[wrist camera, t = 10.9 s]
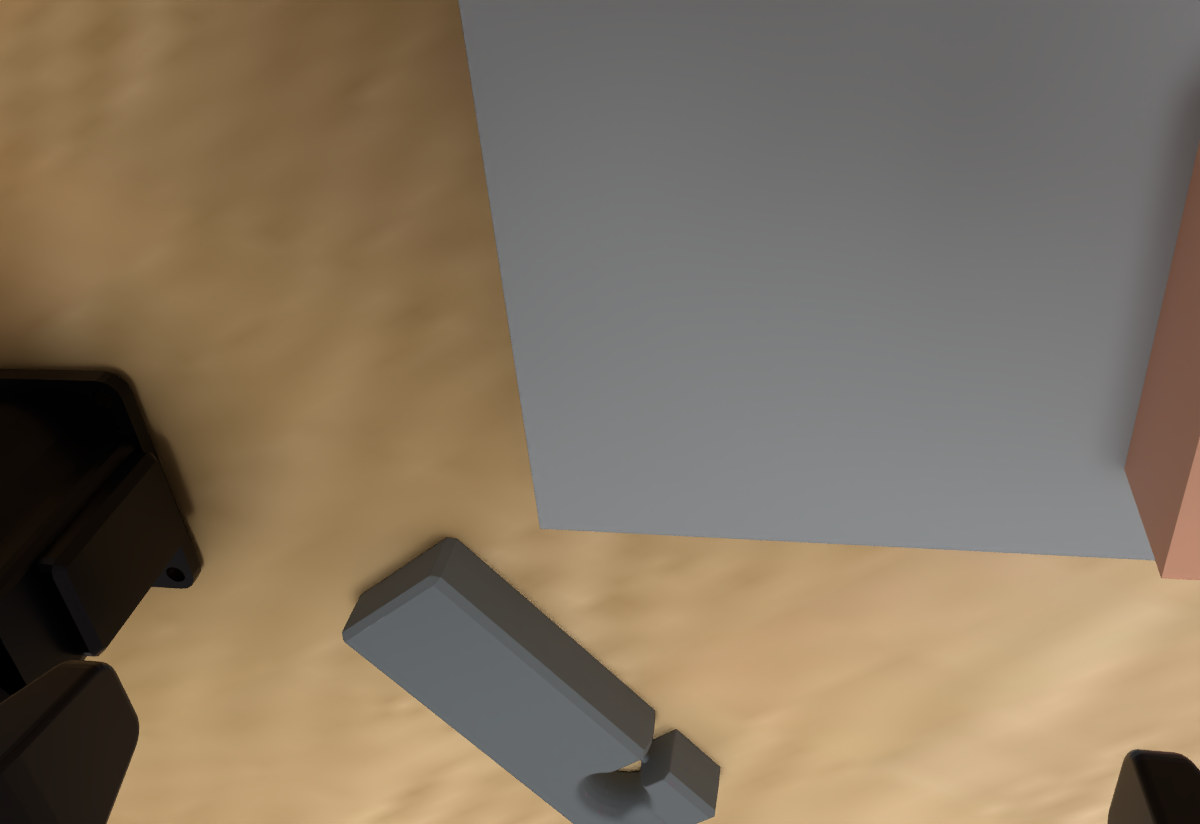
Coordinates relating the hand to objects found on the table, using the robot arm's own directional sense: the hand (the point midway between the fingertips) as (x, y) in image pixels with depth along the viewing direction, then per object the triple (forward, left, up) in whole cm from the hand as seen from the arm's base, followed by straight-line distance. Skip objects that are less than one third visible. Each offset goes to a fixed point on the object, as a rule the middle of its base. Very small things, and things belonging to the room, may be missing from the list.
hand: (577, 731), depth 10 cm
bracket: (-5, -15, -14) cm, 21 cm away
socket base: (+6, -2, -13) cm, 14 cm away
